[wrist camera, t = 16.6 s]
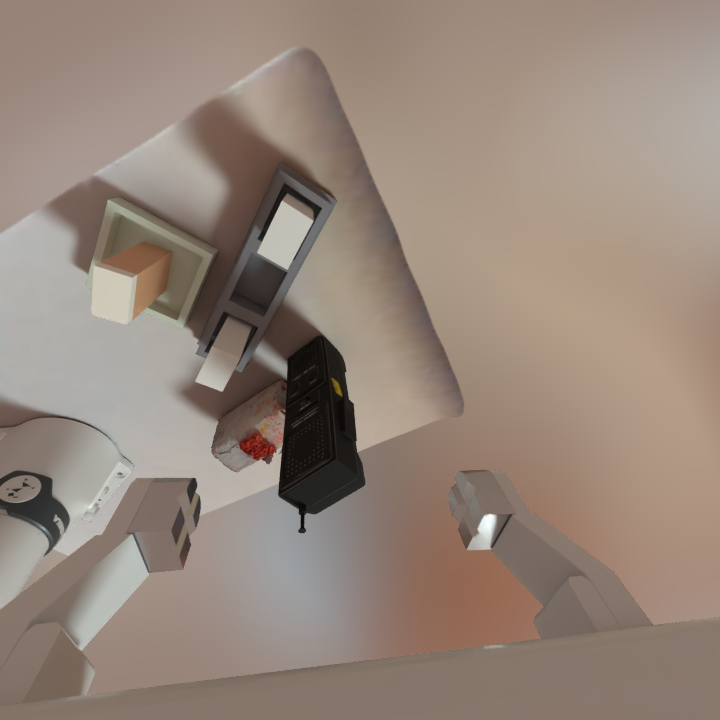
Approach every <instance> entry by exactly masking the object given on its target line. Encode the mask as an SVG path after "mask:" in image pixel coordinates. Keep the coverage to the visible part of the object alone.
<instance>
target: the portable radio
mask: <svg viewBox="0 0 720 720" xmlns="http://www.w3.org/2000/svg"><path fill="white" fill-rule="evenodd" d="M345 372H346V367H345V362H344V360H343V357H342V355H341V354H340V353H339V351H338V350H337V349H336V348H335V347H334V346H333V345H332V344H331V343H330V342H329V341H328V340H327V339H326V338H325V337H324V336H320V337H319V336H318V337H316V338H315V339H313V340H312V341H311V342H309V343H308V344H307V345H305V346H304V347H303V348H301V349H300V350H299V351H297V352H296V353H295V354H293V355H292V356H291V357H289V358H288V372H287V390H286V410H285V423H284V434H283V446H282V457H281V469H280V481H279V492H278V495H279V497H280V498H282V499H283V500H285V501H286V502H288V503H290V504H291V505H293V506H294V507H296V508H298V509H299V515H301V528H300V529H299V531H298V532H299V533H305V532H306V529H305V528H304V515H305V514H306V513H310V514H317V513H319V512H321V511H322V510H324V509H326V508H327V507H329V506H331V505H332V504H334V503H336V502H338V501H339V500H341V499H343V498H344V497H346V496H348V495H350V494H351V493H353V492H355V491H356V490H358V489H360V488H361V487H363V486H364V485H365V477H364V472H363V465H362V462H361V460H360V458H359V455H358V453H357V448H356V441H357V439H356V427H355V416H354V404H353V403H352V402H351V401H350V400H349V397H348V390H347V384H346V378H345Z"/></svg>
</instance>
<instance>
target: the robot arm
mask: <svg viewBox="0 0 720 720" xmlns="http://www.w3.org/2000/svg"><path fill="white" fill-rule="evenodd" d="M133 468H134V467H133V465H132V464H131V463H130V462H129V461H128V460H126V459H125V458H124V457H122V456H121V454H120V453H119V451H118V450H117V448H116V446H115V445H114V444H113V442H112V441H111V440H110V439H109V438H108V437H106V436H105V435H104V434H102V433H101V432H99V431H98V430H96V429H94V428H92V427H90V426H88V425H85V424H83V423H80V422H77V421H73V420H68V419H62V418H38V419H33V420H30V421H27V422H24V423H22V424H20V425H18V426H15V427H6V428H0V720H720V617H715V618H708V619H700V620H691V621H683V622H675V623H667V624H659V625H653V624H652V623H651V621H650V620H649V619H648V617H647V616H646V614H645V613H644V612H643V610H642V609H641V608H640V606H639V605H638V604H637V602H636V601H635V600H634V598H633V597H632V595H631V594H630V593H629V591H628V590H627V589H626V587H625V586H624V584H623V583H622V582H621V581H620V579H619V578H618V576H617V575H616V574H615V572H614V571H612V570H611V569H610V568H608V567H607V566H606V565H604V564H603V563H602V562H600V561H599V560H598V559H596V558H595V557H593V556H592V555H590V554H589V553H588V552H587V551H585V550H584V549H583V548H581V547H580V546H579V545H577V544H576V543H574V542H573V541H572V540H570V539H569V538H568V537H567V536H565V535H564V534H562V533H561V532H560V531H558V530H557V529H556V528H554V527H553V526H552V525H550V524H549V523H548V522H546V521H545V520H543V519H542V518H541V517H540V516H538V515H537V514H531V512H530V510H529V509H528V507H527V506H526V504H525V503H524V501H523V500H522V498H521V496H520V495H519V493H518V491H517V490H516V488H515V487H514V485H513V484H512V482H511V480H510V479H509V477H508V476H507V474H506V473H505V472H504V471H503V470H473V471H472V470H470V471H459V472H458V473H457V474H456V476H455V481H456V484H455V485H453V486H452V487H451V489H450V491H449V506H450V510H451V513H452V515H453V517H454V518H455V519H456V520H457V521H459V522H460V525H459V529H458V530H459V533H460V536H461V538H462V541H463V543H464V545H465V548H466V550H484V549H492V550H491V551H492V552H493V553H494V554H495V555H496V556H497V557H498V558H499V559H500V560H501V562H502V563H503V564H504V565H505V566H506V567H507V568H508V569H509V570H510V571H511V572H512V573H513V574H514V575H515V576H516V578H517V579H518V580H519V581H520V582H521V583H522V584H523V585H524V586H525V587H526V588H527V589H528V590H529V591H530V592H531V593H532V595H534V597H535V598H536V599H537V600H538V601H539V602H540V603H541V604H542V605H543V606H544V607H543V608H542V609H541V610H540V611H539V613H538V614H537V615H536V616H535V619H534V621H533V622H534V624H535V626H536V628H537V630H538V633H539V635H540V637H541V639H537V640H529V641H521V642H513V643H504V644H496V645H488V646H480V647H472V648H464V649H456V650H448V651H439V652H431V653H423V654H415V655H407V656H399V657H391V658H383V659H375V660H366V661H359V662H350V663H343V664H334V665H327V666H318V667H310V668H301V669H294V670H286V671H278V672H269V673H261V674H253V675H245V676H237V677H229V678H220V679H212V680H204V681H196V682H189V683H180V684H172V685H164V686H156V687H148V688H140V689H131V690H124V691H115V692H107V693H99V694H91V695H86V694H87V691H88V689H89V686H90V684H91V681H92V679H93V677H94V674H95V669H94V666H93V665H92V663H91V662H90V661H89V660H88V658H87V657H86V656H85V655H84V654H83V652H82V649H83V648H84V647H85V646H86V645H87V644H88V643H89V642H90V640H91V639H92V638H93V637H94V636H95V635H96V634H97V632H98V631H99V630H100V629H101V628H102V627H103V626H104V625H105V624H106V622H107V621H108V620H109V619H110V618H111V617H112V616H113V615H114V614H115V612H116V611H117V610H118V609H119V608H120V607H121V605H122V604H123V603H124V602H125V601H126V600H127V599H128V598H129V597H130V596H131V594H132V593H133V592H134V591H135V590H136V589H137V588H138V587H139V585H140V584H141V583H142V582H143V581H144V580H145V579H146V578H147V576H148V575H149V574H148V573H152V572H162V571H173V570H182V569H183V568H184V565H185V562H186V559H187V556H188V553H189V550H190V546H191V543H190V539H189V535H190V534H191V533H192V532H194V531H195V530H196V527H197V524H198V520H199V515H200V509H201V501H200V496H199V495H198V494H197V493H195V491H196V488H197V482H196V478H136V479H135V480H134V481H133V482H132V483H131V485H130V486H129V488H128V490H127V492H126V493H125V495H124V497H123V499H122V500H121V502H120V504H119V506H118V508H117V509H116V511H115V513H114V515H113V516H112V518H111V520H110V522H109V524H108V525H107V527H106V529H105V531H104V532H103V534H102V535H96V536H94V537H93V538H92V539H90V540H89V541H88V542H87V543H85V544H84V545H83V546H81V547H80V548H79V549H78V550H76V551H75V552H74V553H72V554H71V555H70V556H69V557H67V558H66V559H65V560H63V561H62V562H61V563H59V564H58V565H57V566H56V567H54V568H53V569H52V570H50V571H49V572H48V573H47V574H45V575H44V576H43V577H41V578H40V579H39V580H38V581H37V582H35V583H34V584H32V585H31V586H30V587H29V588H27V589H26V590H25V591H23V592H22V593H21V594H20V595H18V594H19V593H20V591H21V589H22V588H23V586H24V585H25V583H26V581H27V580H28V579H29V577H30V575H31V574H32V572H33V571H34V569H35V568H36V566H37V565H38V563H39V561H40V560H41V559H42V557H44V556H45V555H47V554H48V553H49V552H50V551H51V550H52V549H53V547H54V546H56V544H57V543H58V542H59V541H60V539H61V538H62V536H63V534H64V533H66V532H68V531H69V530H70V529H71V528H72V527H73V526H74V525H75V523H76V522H77V521H78V520H79V519H82V520H84V521H88V522H91V521H92V519H93V518H94V517H95V515H96V514H97V512H98V510H99V509H100V507H101V506H102V505H103V504H104V503H105V502H106V500H107V499H108V498H109V497H110V496H111V495H112V493H113V492H114V491H115V490H116V489H117V488H118V487H119V485H120V484H121V483H122V482H123V481H124V480H125V478H126V477H127V476H128V475H129V474H130V473H131V471H132V470H133Z"/></svg>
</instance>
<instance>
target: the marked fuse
mask: <svg viewBox="0 0 720 720" xmlns="http://www.w3.org/2000/svg"><path fill="white" fill-rule="evenodd" d="M171 258H172V251H169V250H166V249H164V248H161V247H158V246H155V245H152V244H150V243H147V242H141V243H139V244H137V245H135V246H133V247H131V248H129V249H127V250H125V251H123V252H121V253H119V254H116V255H114V256H112V257H110V258H108V259H106V260H104V261H102V262H100V263H98V264H96V265H94V271H93V290H92V310H91V315H94V316H97V317H101V318H104V319H108V320H111V321H115V322H118V323H122V324H125V325H128V324H129V323H130V322H131V321H132V320H133V319H135V318H136V317H137V316H138V315H139V314H140V313H141V312H142V311H144V310H145V309H146V308H147V307H148V306H149V305H150V304H151V303H153V302H154V301H155V300H156V299H157V298H158V297H159V296H160V295H162V294H163V293H164V292H165V291H166V289H167V283H168V276H169V270H170V264H171Z"/></svg>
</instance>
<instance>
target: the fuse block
mask: <svg viewBox="0 0 720 720" xmlns="http://www.w3.org/2000/svg"><path fill="white" fill-rule="evenodd" d="M336 203H337V200H336V199H334V198H333V197H331V196H330V195H328V194H327V193H326V192H324V191H323V190H321V189H320V188H318V187H317V186H315V185H314V184H313V183H311V182H310V181H308V180H307V179H305V178H304V177H302V176H301V175H300V174H298V173H297V172H295V171H294V170H292V169H291V168H289V167H288V166H287V165H285V164H284V163H282V162H280V164H279V166H278V168H277V170H276V172H275V175H274V177H273V179H272V181H271V183H270V186H269V188H268V190H267V192H266V194H265V197H264V199H263V201H262V203H261V205H260V207H259V210H258V212H257V214H256V216H255V218H254V221H253V223H252V225H251V227H250V229H249V232H248V234H247V236H246V238H245V240H244V243H243V245H242V247H241V249H240V251H239V254H238V256H237V258H236V260H235V262H234V264H233V267H232V269H231V271H230V273H229V275H228V278H227V280H226V282H225V284H224V286H223V289H222V291H221V293H220V295H219V297H218V300H217V302H216V304H215V306H214V308H213V311H212V313H211V315H210V317H209V319H208V321H207V324H206V326H205V328H204V330H203V332H202V335H201V337H200V339H199V341H198V343H197V344H199V348H198V350H197V352H196V354H197V355H200V356H202V357H204V358H206V360H205V362H204V364H203V366H202V368H201V370H200V372H199V374H198V377H197V379H196V381H195V382H197V383H200V384H203V385H205V386H208V387H211V388H213V389H216V390H219V391H221V392H223V390H224V388H225V386H226V384H227V382H228V380H229V379H230V377H231V375H232V373H233V371H234V370H236V371H239V372H242V371H243V369H244V367H245V365H247V364H248V363H249V361H250V359H251V357H252V355H253V354H254V352H255V350H256V348H257V346H258V344H259V343H260V341H261V339H262V337H263V335H264V334H265V332H266V330H267V328H268V326H269V324H270V323H271V321H272V319H273V317H274V315H275V313H276V312H277V310H278V308H279V306H280V304H281V303H282V301H283V299H284V297H285V295H286V293H287V292H288V290H289V288H290V286H291V284H292V283H293V281H294V279H295V277H296V275H297V273H298V272H299V270H300V268H301V266H302V264H303V263H304V261H305V259H306V257H307V255H308V253H309V252H310V250H311V248H312V246H313V244H314V243H315V241H316V239H317V237H318V235H319V233H320V232H321V230H322V228H323V226H324V224H325V223H326V221H327V219H328V217H329V215H330V213H331V212H332V210H333V208H334V206H335V204H336Z"/></svg>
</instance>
